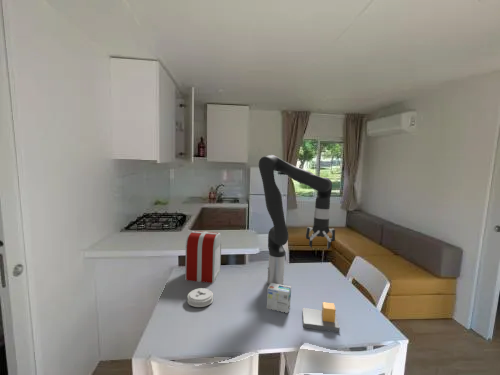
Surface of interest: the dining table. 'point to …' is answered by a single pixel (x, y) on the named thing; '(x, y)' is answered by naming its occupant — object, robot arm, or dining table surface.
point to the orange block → (328, 312)
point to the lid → (200, 297)
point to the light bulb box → (279, 297)
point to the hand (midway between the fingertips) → (319, 247)
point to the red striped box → (203, 256)
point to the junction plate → (318, 321)
